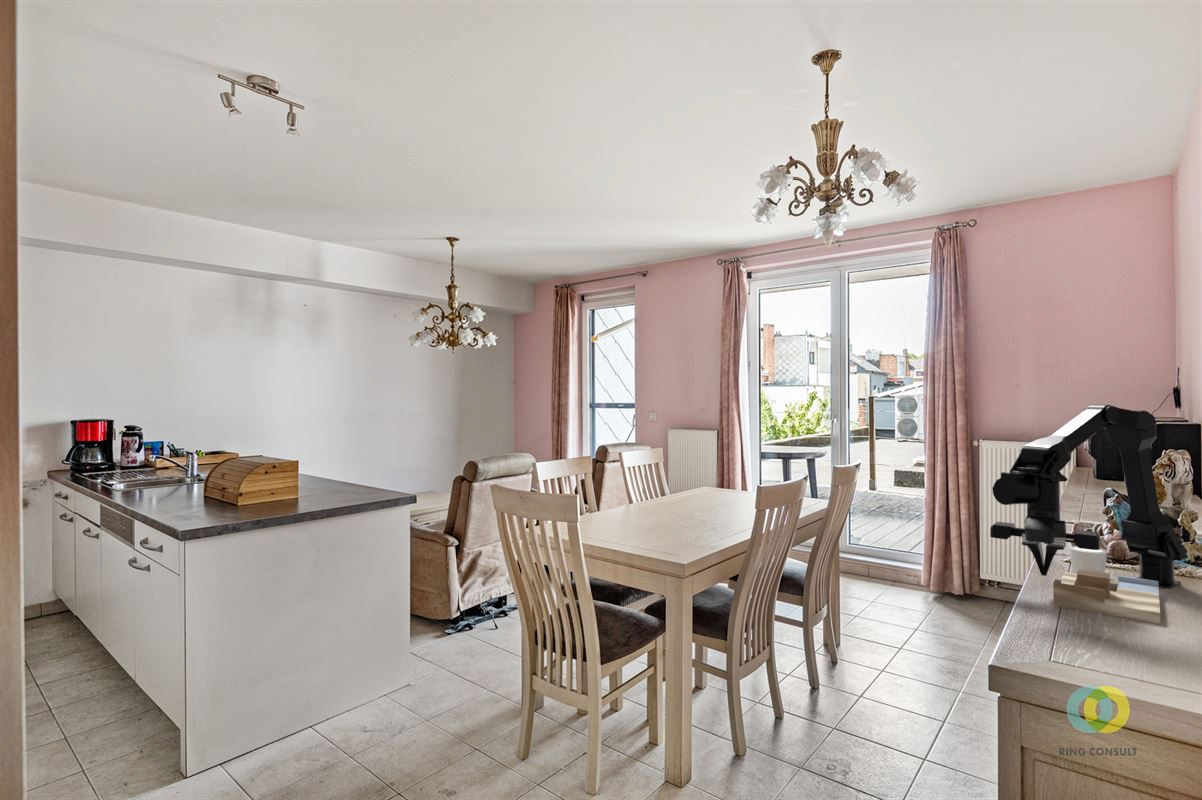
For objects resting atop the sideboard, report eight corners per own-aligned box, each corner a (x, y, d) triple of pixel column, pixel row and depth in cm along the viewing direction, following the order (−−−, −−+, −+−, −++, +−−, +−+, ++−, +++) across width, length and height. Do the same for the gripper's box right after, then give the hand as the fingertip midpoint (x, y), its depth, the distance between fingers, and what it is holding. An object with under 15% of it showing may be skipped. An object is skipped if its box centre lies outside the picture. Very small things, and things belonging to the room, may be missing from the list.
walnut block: (1079, 587, 128) (1079, 568, 128) (1110, 592, 125) (1109, 573, 125) (1077, 593, 125) (1077, 574, 125) (1108, 598, 121) (1108, 578, 121)
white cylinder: (1114, 584, 137) (1114, 553, 137) (1080, 582, 138) (1079, 552, 138) (1096, 575, 144) (1096, 546, 144) (1063, 574, 145) (1063, 545, 145)
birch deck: (1064, 580, 140) (1064, 561, 140) (1158, 594, 129) (1158, 573, 129) (1053, 605, 124) (1053, 583, 124) (1160, 623, 113) (1159, 599, 113)
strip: (1118, 588, 134) (1118, 575, 134) (1158, 594, 130) (1158, 581, 130) (1117, 596, 128) (1117, 583, 129) (1159, 603, 124) (1158, 589, 124)
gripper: (985, 503, 131) (986, 575, 131) (1096, 512, 118) (1097, 593, 118) (994, 496, 139) (995, 564, 139) (1100, 505, 127) (1101, 580, 126)
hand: (1044, 575), depth 130 cm, fingers closed
